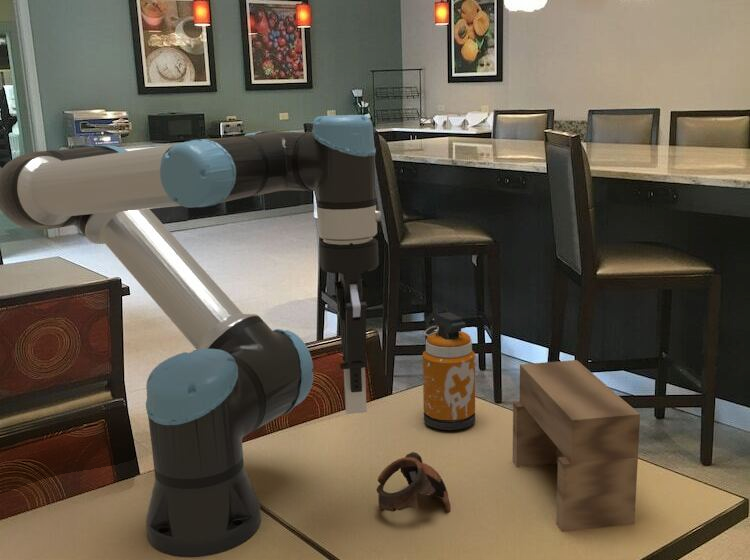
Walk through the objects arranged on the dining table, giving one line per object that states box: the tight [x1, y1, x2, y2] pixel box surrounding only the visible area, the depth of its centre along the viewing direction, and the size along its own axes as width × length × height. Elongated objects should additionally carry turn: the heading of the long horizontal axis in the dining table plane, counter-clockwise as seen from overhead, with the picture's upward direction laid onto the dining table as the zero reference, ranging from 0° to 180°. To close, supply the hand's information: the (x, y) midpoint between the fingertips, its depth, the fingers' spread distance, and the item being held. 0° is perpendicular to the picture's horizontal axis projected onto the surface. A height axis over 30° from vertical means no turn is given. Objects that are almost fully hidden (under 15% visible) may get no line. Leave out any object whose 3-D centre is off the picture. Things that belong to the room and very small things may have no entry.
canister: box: [422, 307, 476, 431], centre depth 137 cm, size 9×11×20 cm
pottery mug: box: [376, 451, 451, 513], centre depth 111 cm, size 12×9×8 cm
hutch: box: [512, 359, 641, 533], centre depth 112 cm, size 10×21×16 cm, turn 8°
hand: (356, 410), depth 107 cm, fingers closed
